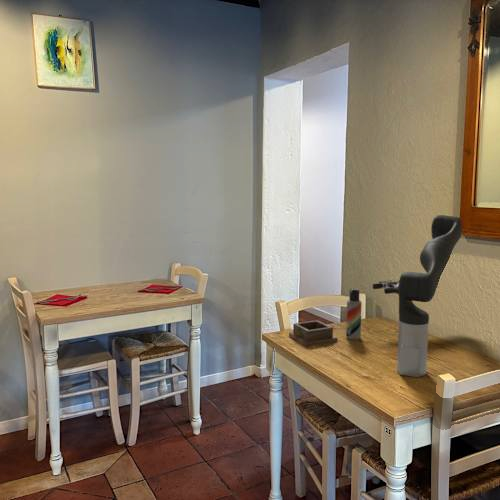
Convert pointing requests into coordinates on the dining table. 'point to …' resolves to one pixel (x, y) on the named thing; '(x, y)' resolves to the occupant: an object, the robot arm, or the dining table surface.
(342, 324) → the dining table surface
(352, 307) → the lotion bottle
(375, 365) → the dining table surface
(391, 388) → the dining table surface
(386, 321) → the dining table surface
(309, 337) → the bottle holder
